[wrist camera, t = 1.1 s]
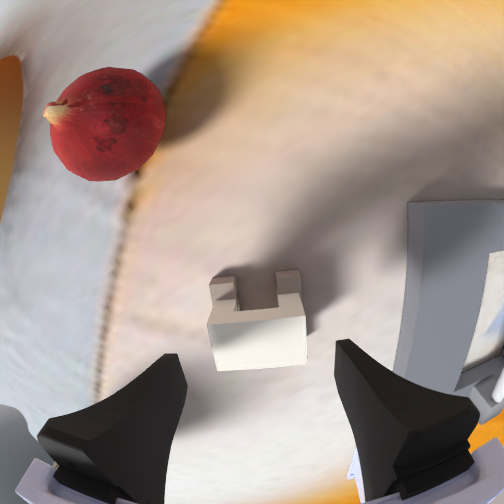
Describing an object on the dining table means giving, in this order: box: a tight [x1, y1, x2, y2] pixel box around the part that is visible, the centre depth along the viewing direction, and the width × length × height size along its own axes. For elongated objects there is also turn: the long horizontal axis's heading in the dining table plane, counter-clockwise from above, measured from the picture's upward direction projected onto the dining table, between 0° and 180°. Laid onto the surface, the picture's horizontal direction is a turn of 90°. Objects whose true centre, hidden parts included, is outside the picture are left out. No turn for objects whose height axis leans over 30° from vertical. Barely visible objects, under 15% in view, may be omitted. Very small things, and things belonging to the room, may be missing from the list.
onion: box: [43, 67, 167, 181], centre depth 11 cm, size 6×6×8 cm
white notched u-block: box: [207, 269, 307, 371], centre depth 15 cm, size 5×5×4 cm
